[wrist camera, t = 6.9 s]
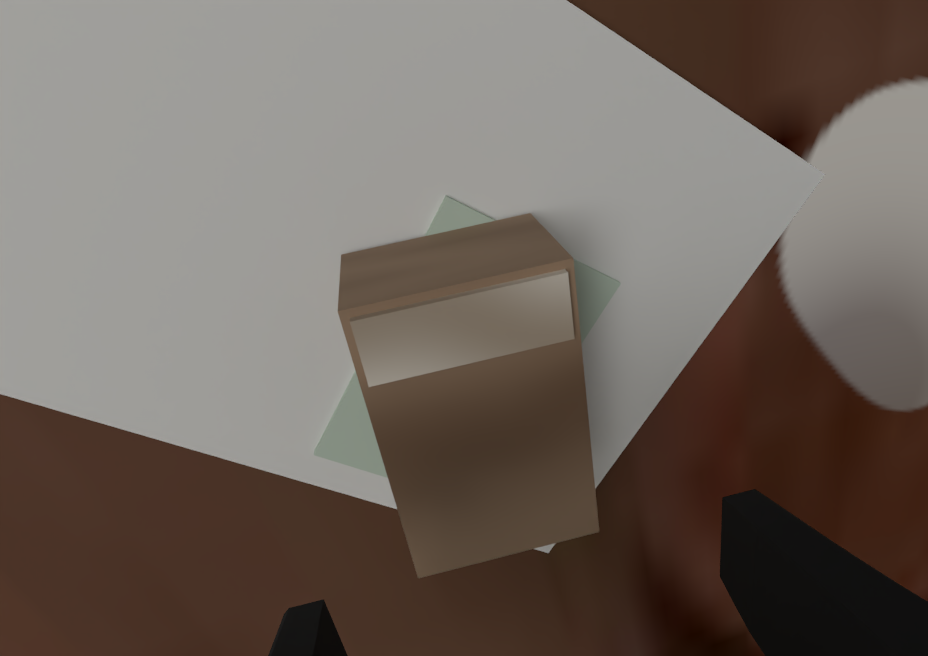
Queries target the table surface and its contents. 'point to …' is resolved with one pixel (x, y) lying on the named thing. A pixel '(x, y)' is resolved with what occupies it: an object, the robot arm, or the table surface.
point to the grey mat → (345, 205)
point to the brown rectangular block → (474, 388)
